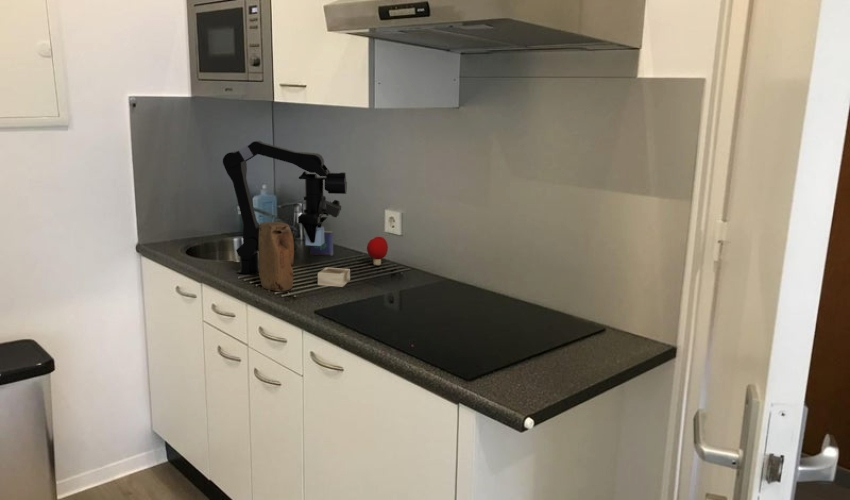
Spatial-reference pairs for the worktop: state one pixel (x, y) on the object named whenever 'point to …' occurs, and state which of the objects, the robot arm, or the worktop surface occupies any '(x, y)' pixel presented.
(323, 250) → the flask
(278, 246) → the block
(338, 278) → the beech base
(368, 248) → the red toy tree
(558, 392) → the worktop surface
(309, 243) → the slate cube
